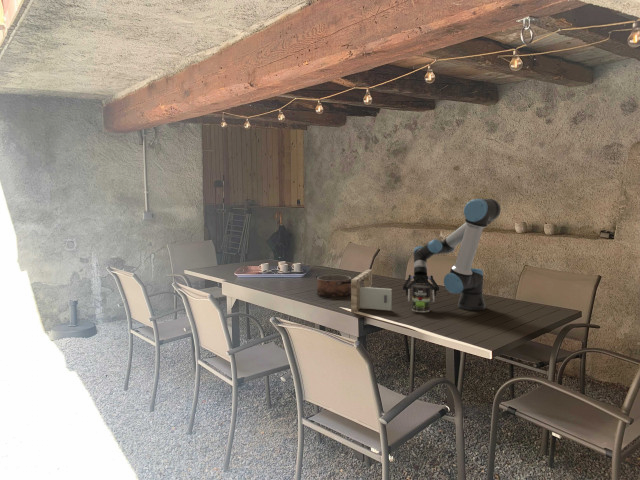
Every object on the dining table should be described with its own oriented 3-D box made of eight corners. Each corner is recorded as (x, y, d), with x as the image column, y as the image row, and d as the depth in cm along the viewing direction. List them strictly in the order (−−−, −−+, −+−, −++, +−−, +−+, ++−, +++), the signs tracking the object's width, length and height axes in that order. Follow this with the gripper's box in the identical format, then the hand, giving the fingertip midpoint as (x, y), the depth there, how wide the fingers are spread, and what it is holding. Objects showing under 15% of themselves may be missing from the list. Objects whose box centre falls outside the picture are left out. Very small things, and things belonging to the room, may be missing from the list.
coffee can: (429, 313, 255) (430, 288, 254) (410, 311, 258) (411, 286, 257) (430, 308, 265) (431, 284, 264) (412, 307, 268) (412, 283, 267)
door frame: (367, 297, 294) (367, 269, 293) (371, 297, 293) (372, 269, 292) (351, 311, 259) (351, 279, 257) (356, 312, 258) (356, 280, 256)
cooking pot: (362, 294, 302) (362, 278, 301) (337, 300, 288) (337, 283, 287) (330, 287, 325) (330, 272, 324) (306, 292, 310) (306, 276, 309)
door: (354, 308, 264) (355, 287, 263) (356, 306, 268) (356, 286, 266) (390, 311, 258) (390, 290, 256) (391, 309, 261) (391, 288, 260)
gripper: (441, 273, 273) (443, 304, 260) (398, 272, 277) (398, 303, 264) (442, 266, 267) (444, 297, 254) (399, 265, 271) (398, 295, 258)
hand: (421, 300), depth 259 cm, fingers open, 13 cm apart
